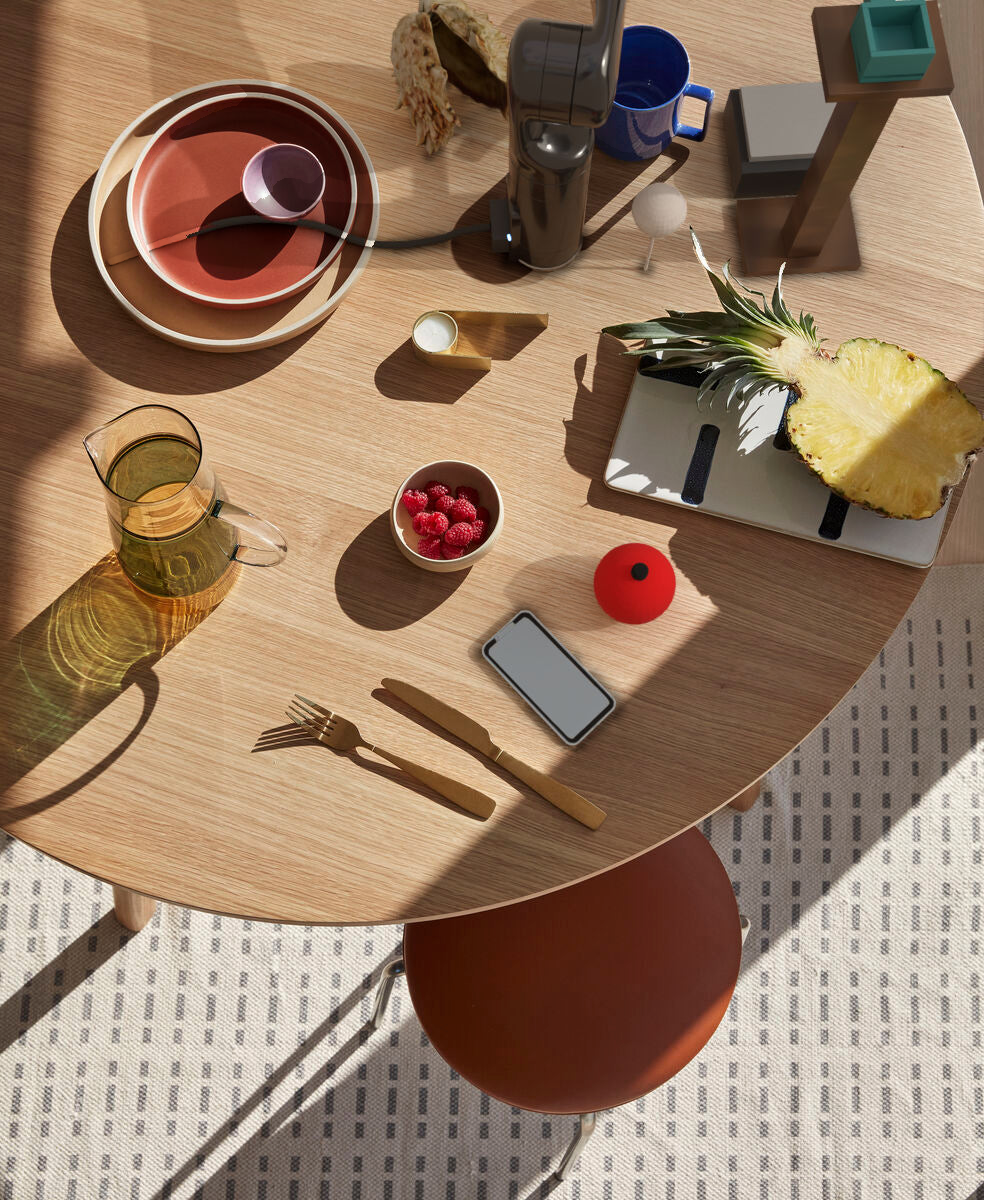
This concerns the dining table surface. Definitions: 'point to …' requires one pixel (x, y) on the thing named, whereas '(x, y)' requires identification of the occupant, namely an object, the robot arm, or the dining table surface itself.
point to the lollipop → (658, 212)
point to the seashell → (447, 66)
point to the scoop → (892, 40)
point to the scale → (773, 136)
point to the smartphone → (548, 677)
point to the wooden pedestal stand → (833, 157)
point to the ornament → (634, 583)
